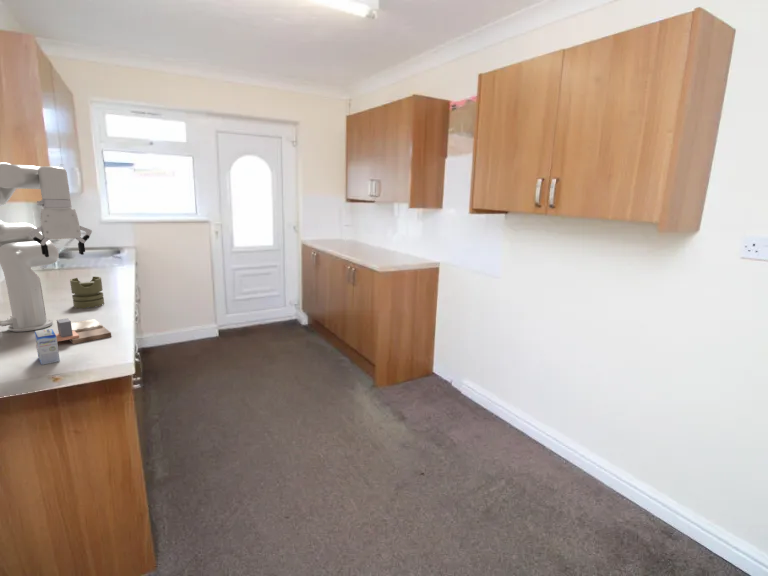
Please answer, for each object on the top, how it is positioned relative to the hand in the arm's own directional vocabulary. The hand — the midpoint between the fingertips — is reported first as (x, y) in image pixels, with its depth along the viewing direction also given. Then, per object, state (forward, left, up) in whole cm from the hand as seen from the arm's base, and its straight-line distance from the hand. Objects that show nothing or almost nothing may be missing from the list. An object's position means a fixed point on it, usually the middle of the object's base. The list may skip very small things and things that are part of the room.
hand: (64, 255), depth 142 cm
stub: (-6, -7, -27) cm, 28 cm away
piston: (+13, +43, -29) cm, 53 cm away
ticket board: (+3, -2, -28) cm, 28 cm away
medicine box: (-11, -23, -29) cm, 38 cm away
